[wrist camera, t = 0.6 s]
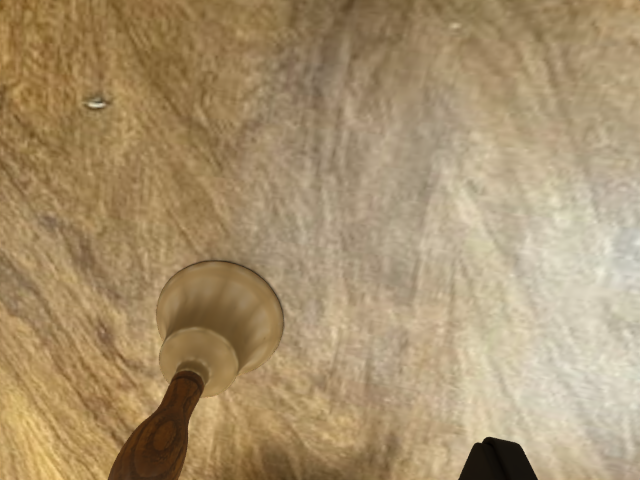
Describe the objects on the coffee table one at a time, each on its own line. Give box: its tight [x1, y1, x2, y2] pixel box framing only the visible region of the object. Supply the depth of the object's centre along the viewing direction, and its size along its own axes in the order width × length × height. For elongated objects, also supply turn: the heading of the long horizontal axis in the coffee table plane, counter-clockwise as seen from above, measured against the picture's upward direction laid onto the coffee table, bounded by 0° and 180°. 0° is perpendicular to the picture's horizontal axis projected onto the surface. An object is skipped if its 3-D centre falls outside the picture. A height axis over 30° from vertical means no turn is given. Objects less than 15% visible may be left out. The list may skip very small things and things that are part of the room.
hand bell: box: [108, 261, 283, 480], centre depth 24 cm, size 8×8×16 cm
